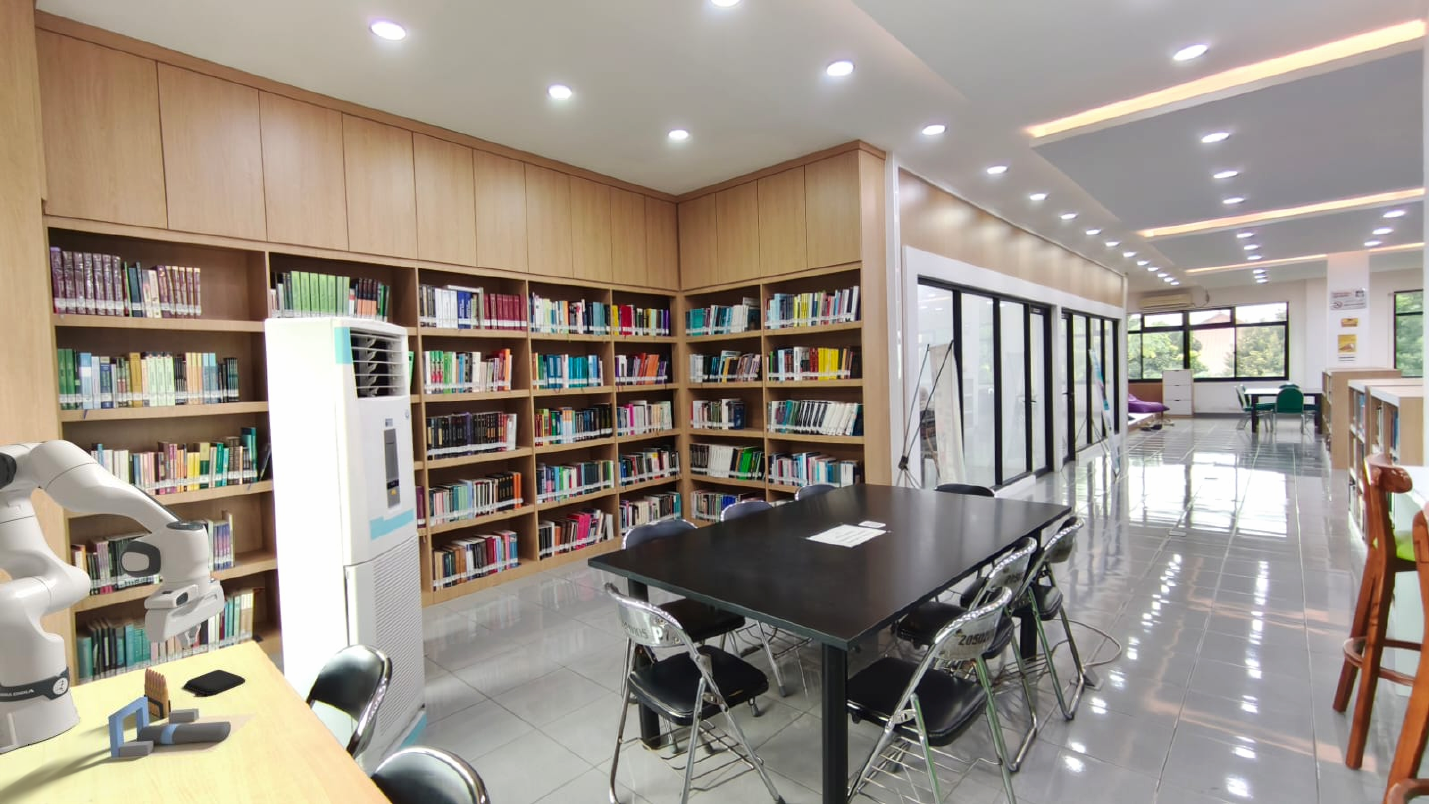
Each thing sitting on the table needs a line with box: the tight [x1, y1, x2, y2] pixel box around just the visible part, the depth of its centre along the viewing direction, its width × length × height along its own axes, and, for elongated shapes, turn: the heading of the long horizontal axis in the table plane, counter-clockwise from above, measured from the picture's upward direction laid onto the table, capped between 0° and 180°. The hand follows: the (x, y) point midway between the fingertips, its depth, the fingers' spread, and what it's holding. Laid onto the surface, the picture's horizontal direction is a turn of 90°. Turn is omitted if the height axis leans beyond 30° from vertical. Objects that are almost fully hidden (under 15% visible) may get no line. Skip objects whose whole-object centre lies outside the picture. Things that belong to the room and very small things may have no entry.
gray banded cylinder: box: [136, 721, 231, 745], centre depth 147 cm, size 18×4×4 cm, turn 94°
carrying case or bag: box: [183, 669, 246, 698], centre depth 175 cm, size 11×3×15 cm
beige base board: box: [108, 708, 259, 760], centre depth 150 cm, size 22×17×4 cm
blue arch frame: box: [107, 696, 150, 758], centre depth 146 cm, size 2×9×10 cm, turn 4°
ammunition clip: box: [143, 667, 172, 720], centre depth 161 cm, size 11×2×12 cm, turn 61°
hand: (189, 645), depth 152 cm, fingers closed
